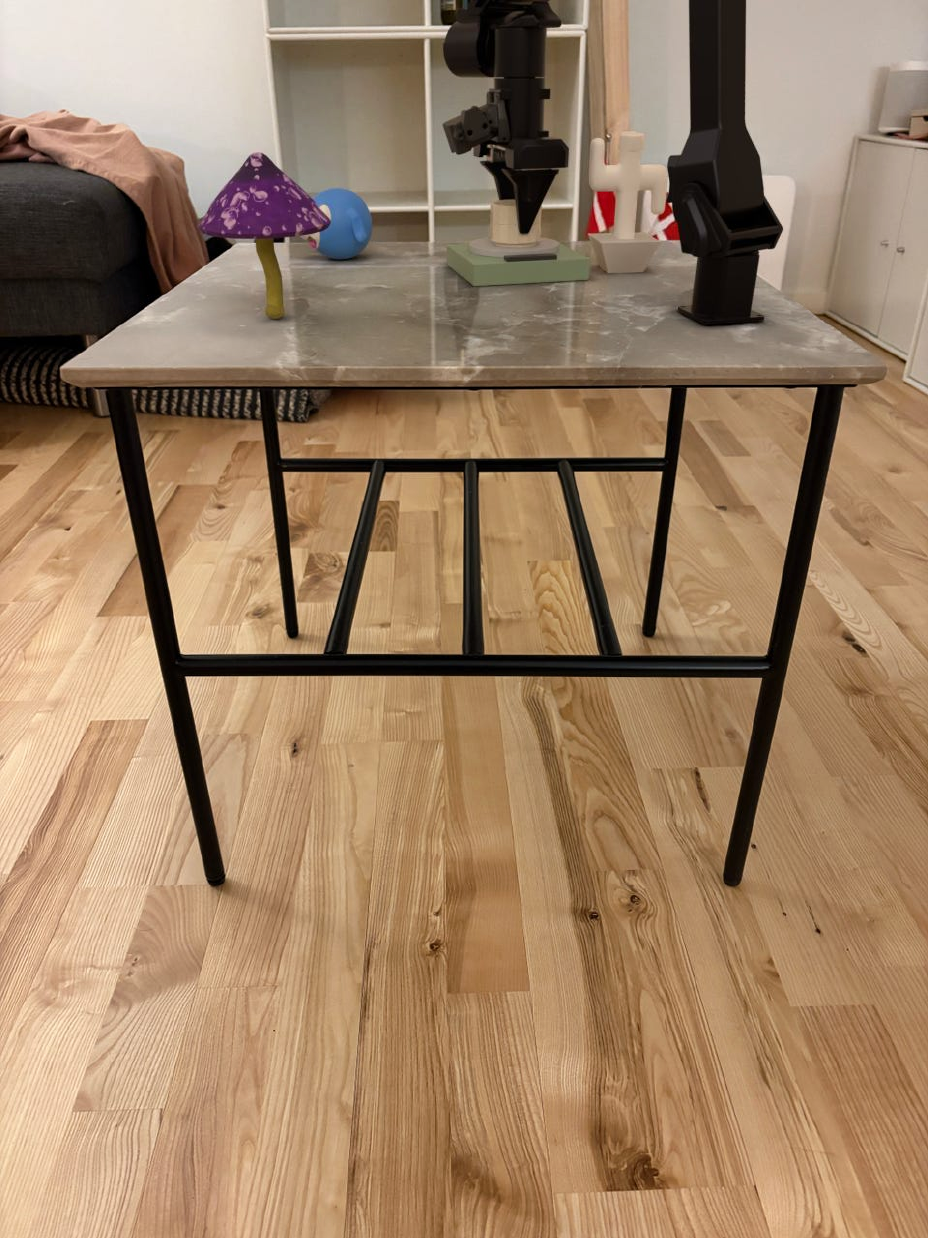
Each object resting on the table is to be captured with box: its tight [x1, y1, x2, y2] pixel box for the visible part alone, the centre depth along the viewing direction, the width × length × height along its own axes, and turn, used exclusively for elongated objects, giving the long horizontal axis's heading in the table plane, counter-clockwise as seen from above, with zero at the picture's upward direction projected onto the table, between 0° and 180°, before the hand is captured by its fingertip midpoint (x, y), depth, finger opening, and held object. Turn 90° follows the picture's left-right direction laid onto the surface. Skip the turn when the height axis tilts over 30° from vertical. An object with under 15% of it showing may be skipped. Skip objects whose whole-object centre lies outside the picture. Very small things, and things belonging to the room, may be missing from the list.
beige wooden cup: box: [489, 199, 543, 248], centre depth 109 cm, size 6×6×5 cm
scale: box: [446, 236, 591, 287], centre depth 112 cm, size 14×14×3 cm
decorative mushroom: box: [197, 151, 331, 320], centre depth 88 cm, size 12×12×15 cm
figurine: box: [587, 130, 669, 274], centre depth 109 cm, size 7×9×15 cm
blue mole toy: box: [298, 187, 373, 260], centre depth 118 cm, size 12×12×8 cm
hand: (516, 229), depth 110 cm, fingers closed on beige wooden cup, 6 cm apart
